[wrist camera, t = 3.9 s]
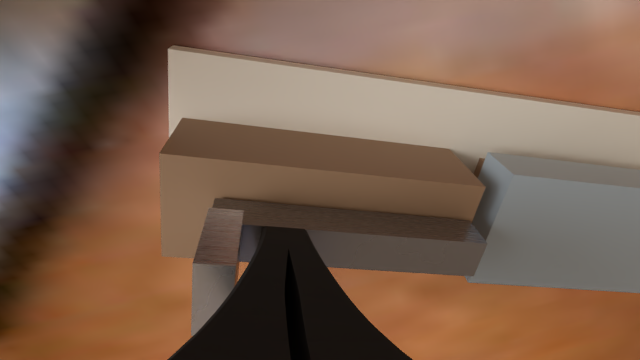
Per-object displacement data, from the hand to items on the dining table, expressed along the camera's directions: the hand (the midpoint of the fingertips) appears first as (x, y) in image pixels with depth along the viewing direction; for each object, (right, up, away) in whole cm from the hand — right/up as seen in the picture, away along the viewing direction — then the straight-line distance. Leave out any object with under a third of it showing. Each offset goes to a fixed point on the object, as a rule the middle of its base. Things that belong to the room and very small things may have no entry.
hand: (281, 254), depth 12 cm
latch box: (+7, +2, +7) cm, 10 cm away
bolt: (+2, +1, +2) cm, 3 cm away
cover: (+12, +1, +6) cm, 13 cm away
